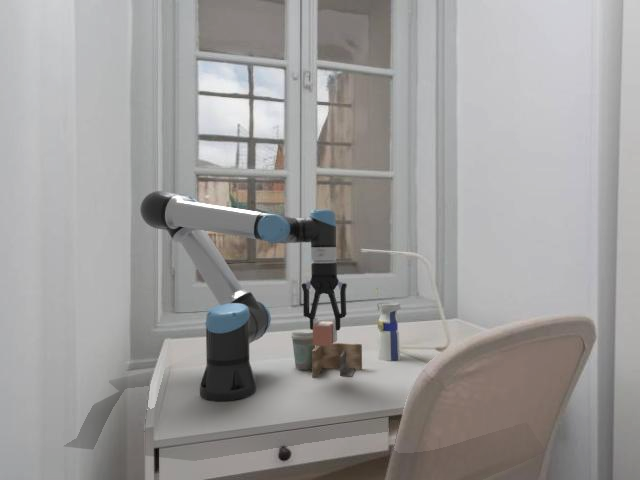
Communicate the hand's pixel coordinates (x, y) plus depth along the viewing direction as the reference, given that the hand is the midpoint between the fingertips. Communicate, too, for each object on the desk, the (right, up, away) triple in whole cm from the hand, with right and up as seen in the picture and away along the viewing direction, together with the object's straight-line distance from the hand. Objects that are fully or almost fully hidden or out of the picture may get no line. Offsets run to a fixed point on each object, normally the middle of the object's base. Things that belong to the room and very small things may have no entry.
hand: (325, 340), depth 120 cm
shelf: (+4, -12, +8) cm, 15 cm away
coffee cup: (-7, -12, +14) cm, 20 cm away
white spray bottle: (+23, -12, +23) cm, 35 cm away
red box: (0, 0, 0) cm, 0 cm away
